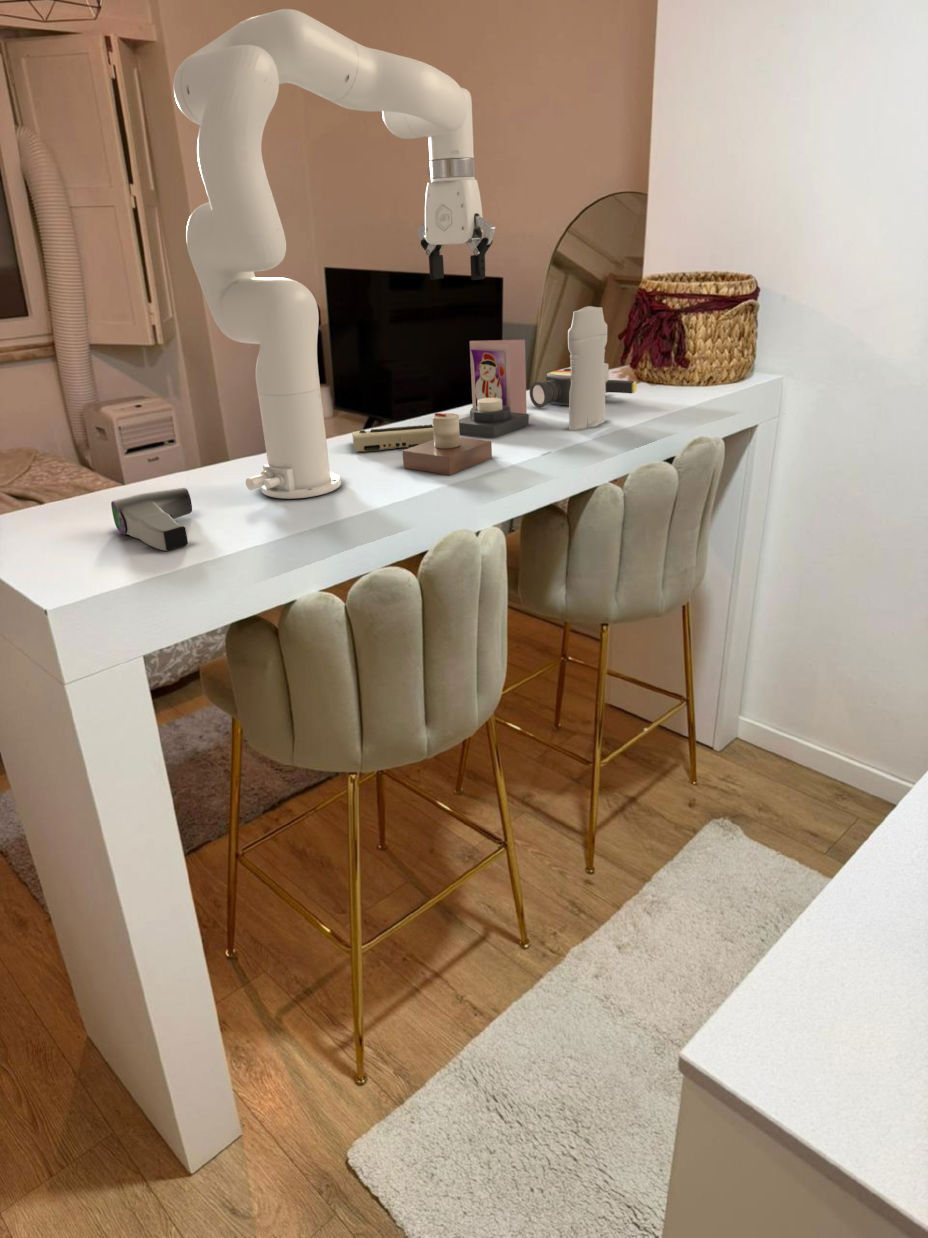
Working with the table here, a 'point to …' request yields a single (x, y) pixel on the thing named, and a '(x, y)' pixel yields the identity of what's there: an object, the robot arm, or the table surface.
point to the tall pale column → (587, 368)
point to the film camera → (560, 384)
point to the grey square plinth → (492, 422)
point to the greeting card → (499, 372)
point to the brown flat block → (447, 456)
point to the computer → (392, 437)
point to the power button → (489, 404)
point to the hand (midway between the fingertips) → (457, 278)
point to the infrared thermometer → (154, 517)
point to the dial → (446, 430)
